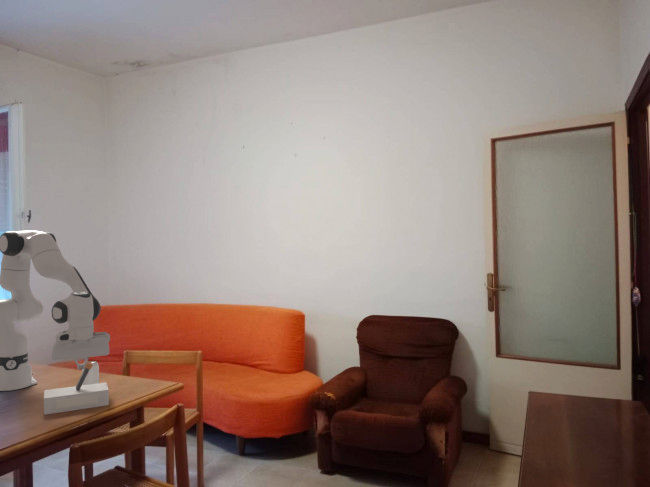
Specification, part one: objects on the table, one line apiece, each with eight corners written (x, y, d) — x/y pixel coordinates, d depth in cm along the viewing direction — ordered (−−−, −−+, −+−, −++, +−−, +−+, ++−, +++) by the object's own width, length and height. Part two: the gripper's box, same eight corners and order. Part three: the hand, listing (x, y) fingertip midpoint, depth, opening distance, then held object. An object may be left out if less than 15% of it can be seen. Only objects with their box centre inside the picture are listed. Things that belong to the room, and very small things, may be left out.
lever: (74, 387, 194) (87, 361, 196) (79, 388, 195) (92, 362, 197) (74, 389, 190) (87, 363, 193) (79, 391, 191) (92, 364, 193)
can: (102, 388, 215) (101, 361, 215) (93, 393, 208) (93, 364, 208) (87, 388, 215) (87, 360, 215) (79, 392, 209) (78, 364, 209)
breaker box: (44, 405, 192) (44, 390, 192) (106, 396, 203) (106, 382, 203) (44, 415, 182) (43, 398, 182) (109, 405, 192) (108, 389, 192)
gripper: (109, 330, 201) (109, 364, 201) (51, 334, 191) (51, 370, 191) (110, 332, 195) (110, 367, 195) (51, 337, 186) (51, 374, 186)
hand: (81, 368), depth 193 cm, fingers closed
